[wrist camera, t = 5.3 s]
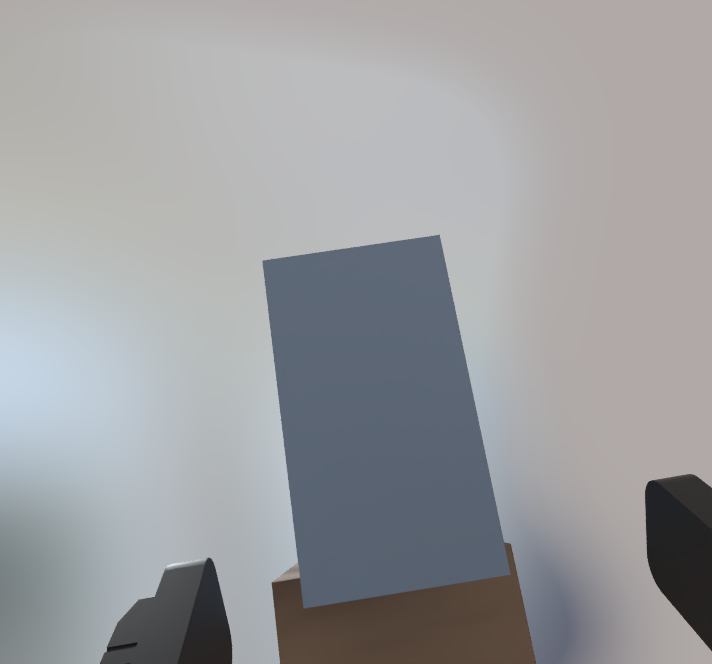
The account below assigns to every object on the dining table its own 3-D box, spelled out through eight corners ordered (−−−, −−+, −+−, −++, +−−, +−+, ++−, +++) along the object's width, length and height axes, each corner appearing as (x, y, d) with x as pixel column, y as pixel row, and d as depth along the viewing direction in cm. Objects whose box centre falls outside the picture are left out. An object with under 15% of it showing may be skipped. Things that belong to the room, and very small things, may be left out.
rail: (511, 574, 15) (439, 235, 17) (303, 608, 15) (262, 260, 17) (423, 537, 36) (397, 387, 38) (338, 551, 36) (318, 399, 38)
